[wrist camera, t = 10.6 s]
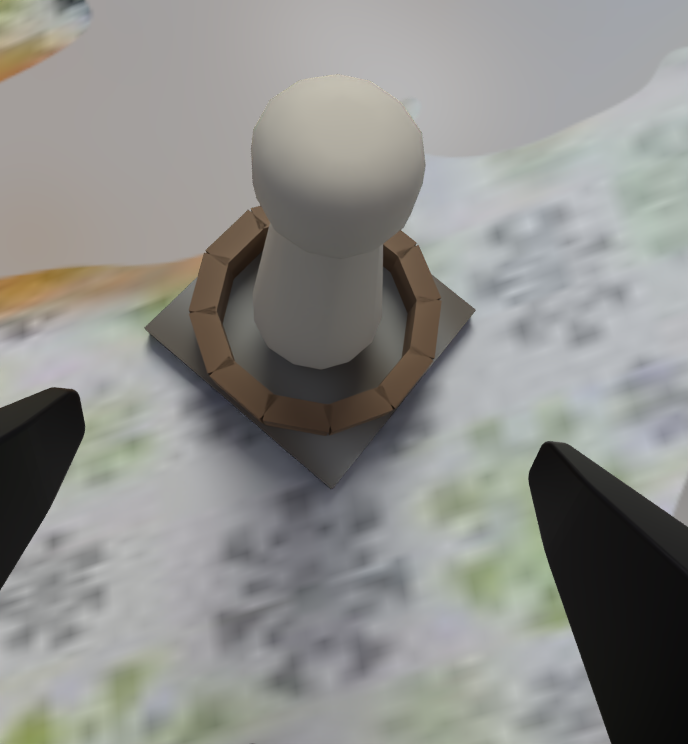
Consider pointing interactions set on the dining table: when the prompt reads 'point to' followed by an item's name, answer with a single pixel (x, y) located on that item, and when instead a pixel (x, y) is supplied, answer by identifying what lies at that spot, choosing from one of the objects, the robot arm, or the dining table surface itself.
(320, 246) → the salt shaker
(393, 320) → the stand
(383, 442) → the dining table surface
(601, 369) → the dining table surface
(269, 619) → the dining table surface
